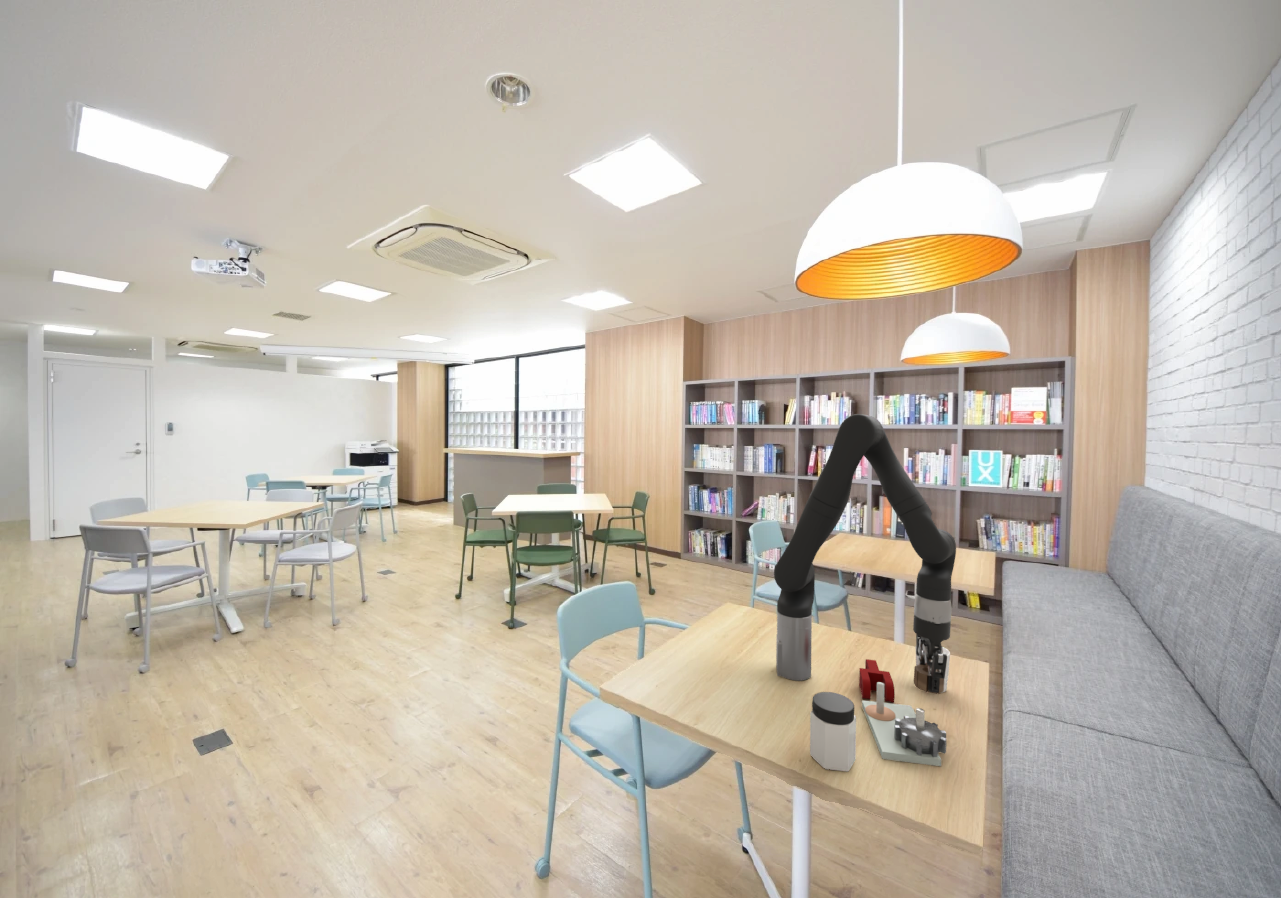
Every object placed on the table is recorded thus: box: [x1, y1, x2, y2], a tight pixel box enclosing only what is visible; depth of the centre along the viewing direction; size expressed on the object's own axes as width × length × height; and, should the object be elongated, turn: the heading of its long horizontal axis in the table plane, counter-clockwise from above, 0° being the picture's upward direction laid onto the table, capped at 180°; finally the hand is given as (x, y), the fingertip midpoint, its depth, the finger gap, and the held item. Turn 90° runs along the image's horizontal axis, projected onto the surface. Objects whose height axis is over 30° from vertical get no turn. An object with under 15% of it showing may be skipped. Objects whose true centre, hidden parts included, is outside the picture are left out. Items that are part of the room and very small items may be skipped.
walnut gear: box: [913, 664, 944, 695], centre depth 118 cm, size 6×6×4 cm
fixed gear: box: [894, 707, 947, 757], centre depth 106 cm, size 10×10×7 cm
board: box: [861, 682, 942, 767], centre depth 112 cm, size 11×20×8 cm, turn 167°
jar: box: [809, 691, 857, 772], centre depth 103 cm, size 9×8×12 cm
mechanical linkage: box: [858, 658, 896, 704], centre depth 132 cm, size 16×7×5 cm, turn 162°
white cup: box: [915, 645, 951, 693], centre depth 132 cm, size 8×8×10 cm
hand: (928, 684), depth 118 cm, fingers closed on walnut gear, 5 cm apart
